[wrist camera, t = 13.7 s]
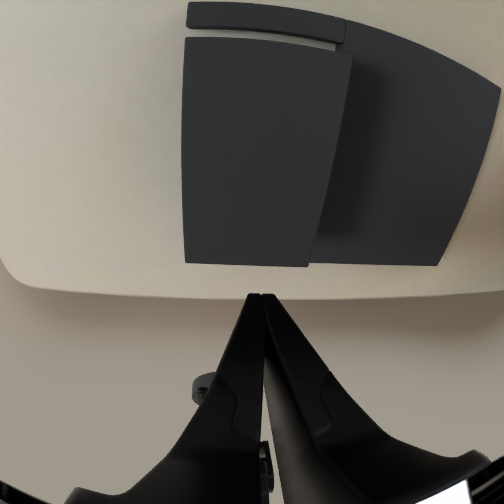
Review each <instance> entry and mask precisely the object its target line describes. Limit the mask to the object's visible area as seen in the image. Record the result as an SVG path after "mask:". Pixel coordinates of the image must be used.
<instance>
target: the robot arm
mask: <svg viewBox="0 0 504 504" xmlns="http://www.w3.org/2000/svg"><path fill="white" fill-rule="evenodd" d="M263 382H264V388H265V394H266V399H267V406H268V412H269V417H270V423H271V430H272V435H273V441H274V447H275V453H276V458H277V464H278V469H279V476H280V481H281V487H282V492H283V499H284V504H504V455H503V456H501V457H499V458H498V459H496V460H494V461H492V462H491V461H490V460H489V458H488V457H487V456H485V455H484V454H482V453H480V452H478V451H476V450H471V451H469V452H467V453H465V454H463V455H461V456H459V457H452V458H451V457H444V456H440V455H437V454H434V453H431V452H429V451H426V450H423V449H420V448H418V447H415V446H412V445H409V444H407V443H404V442H402V441H399V440H397V439H395V438H393V437H391V436H390V435H388V434H387V433H386V432H384V431H383V430H382V429H381V428H380V427H379V426H378V425H377V424H376V423H375V422H374V421H373V420H372V419H371V418H370V417H369V416H368V415H367V413H366V412H365V411H364V410H363V409H362V408H361V407H360V406H359V405H358V404H357V403H356V402H355V401H354V400H353V399H352V397H351V396H350V395H349V394H348V393H347V392H346V391H345V389H344V388H343V387H342V386H341V384H340V383H339V382H338V381H337V379H336V378H335V377H334V375H333V374H332V372H331V371H329V369H328V367H327V366H326V364H325V363H324V362H323V360H322V359H321V358H320V356H319V355H318V353H317V352H316V351H315V349H314V348H313V347H312V345H311V344H310V343H309V342H308V340H307V338H306V337H305V336H304V334H303V333H302V332H301V330H300V329H299V327H298V326H297V325H296V323H295V322H294V321H293V319H292V318H291V317H290V315H289V314H288V312H287V311H286V310H285V308H284V307H283V306H282V304H281V303H280V301H279V300H278V299H277V297H276V296H275V295H274V294H262V295H261V294H259V293H249V294H248V295H247V298H246V300H245V303H244V305H243V308H242V310H241V313H240V315H239V317H238V320H237V322H236V324H235V327H234V329H233V332H232V334H231V337H230V339H229V341H228V344H227V346H226V349H225V351H224V354H223V356H222V358H221V361H220V363H219V365H218V368H217V370H216V374H215V375H214V377H213V379H212V382H211V384H210V386H209V388H207V387H199V388H197V395H198V401H199V407H198V409H197V411H196V413H195V414H194V416H193V417H192V419H191V421H190V422H189V424H188V425H187V427H186V428H185V430H184V432H183V433H182V435H181V436H180V438H179V439H178V441H177V442H176V444H175V445H174V447H173V448H172V449H171V451H170V452H169V453H168V454H167V455H166V457H165V458H164V459H163V460H162V461H160V462H159V463H158V464H157V465H156V466H155V467H154V468H153V469H152V470H151V471H150V472H149V473H148V474H146V475H145V476H144V477H143V478H142V479H141V480H140V481H139V482H138V483H136V484H135V485H134V486H133V487H132V488H131V489H129V490H128V491H126V492H125V493H122V494H119V495H106V494H102V493H98V492H94V491H91V490H87V489H84V488H80V487H76V488H74V490H73V491H72V493H71V494H70V495H69V497H68V498H67V500H66V501H65V503H64V504H269V493H272V492H273V489H274V473H273V466H272V461H271V455H270V449H269V444H268V441H263V442H260V436H261V418H262V399H263ZM0 504H51V503H48V502H46V501H44V500H41V499H39V498H37V497H34V496H32V495H30V494H28V493H26V492H24V491H21V490H19V489H17V488H15V487H13V486H11V485H9V484H7V483H5V482H3V481H1V480H0Z"/></svg>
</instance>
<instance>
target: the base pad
mask: <svg viewBox="0 0 504 504" xmlns="http://www.w3.org/2000/svg"><path fill="white" fill-rule="evenodd" d="M186 27H188V28H190V29H228V30H245V31H258V32H268V33H276V34H284V35H291V36H298V37H304V38H309V39H315V40H320V41H325V42H329V43H334V44H336V50H335V52H339V53H343V54H347V55H351V56H353V61H352V67H351V73H350V79H349V85H348V91H347V97H346V102H345V108H344V113H343V118H342V123H341V128H340V134H339V138H338V143H337V148H336V153H335V158H334V162H333V167H332V171H331V176H330V180H329V185H328V189H327V193H326V198H325V202H324V206H323V210H322V214H321V218H320V222H319V226H318V230H317V234H316V238H315V242H314V246H313V250H312V253H311V257H310V261H309V263H337V264H373V265H413V266H437V265H438V263H439V261H440V259H441V257H442V256H443V254H444V252H445V250H446V248H447V246H448V244H449V241H450V239H451V237H452V235H453V233H454V231H455V229H456V227H457V224H458V222H459V220H460V218H461V215H462V213H463V211H464V208H465V206H466V204H467V201H468V199H469V196H470V194H471V191H472V188H473V186H474V183H475V180H476V178H477V175H478V172H479V169H480V166H481V163H482V160H483V157H484V154H485V151H486V148H487V145H488V141H489V138H490V134H491V131H492V127H493V123H494V119H495V115H496V111H497V107H498V102H499V98H500V93H501V88H500V87H498V86H497V85H495V84H494V83H492V82H490V81H489V80H487V79H486V78H484V77H482V76H481V75H479V74H477V73H476V72H474V71H472V70H470V69H468V68H467V67H465V66H463V65H461V64H459V63H457V62H456V61H454V60H452V59H450V58H448V57H446V56H444V55H442V54H439V53H437V52H435V51H433V50H431V49H429V48H426V47H424V46H422V45H419V44H417V43H415V42H412V41H410V40H407V39H405V38H402V37H400V36H397V35H394V34H391V33H389V32H386V31H383V30H380V29H377V28H374V27H371V26H367V25H364V24H361V23H357V22H354V21H350V20H345V19H342V18H338V17H334V16H330V15H325V14H321V13H316V12H311V11H305V10H300V9H294V8H287V7H280V6H272V5H263V4H253V3H238V2H189V3H188V9H187V20H186Z"/></svg>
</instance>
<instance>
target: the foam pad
mask: <svg viewBox="0 0 504 504" xmlns="http://www.w3.org/2000/svg"><path fill="white" fill-rule="evenodd" d="M352 61H353V56H351V55H347V54H343V53H339V52H334V51H330V50H325V49H320V48H315V47H309V46H303V45H297V44H291V43H284V42H276V41H267V40H257V39H245V38H227V37H186V38H185V49H184V66H183V88H182V127H181V168H182V210H183V233H184V251H185V262H186V263H199V264H225V265H253V266H283V267H308V265H309V261H310V257H311V253H312V250H313V246H314V242H315V238H316V234H317V230H318V226H319V222H320V218H321V214H322V210H323V206H324V202H325V198H326V193H327V189H328V185H329V180H330V176H331V171H332V167H333V162H334V158H335V153H336V148H337V143H338V138H339V134H340V128H341V123H342V118H343V113H344V108H345V102H346V97H347V91H348V85H349V79H350V73H351V67H352Z"/></svg>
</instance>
